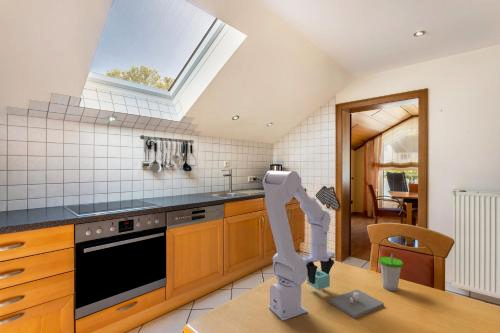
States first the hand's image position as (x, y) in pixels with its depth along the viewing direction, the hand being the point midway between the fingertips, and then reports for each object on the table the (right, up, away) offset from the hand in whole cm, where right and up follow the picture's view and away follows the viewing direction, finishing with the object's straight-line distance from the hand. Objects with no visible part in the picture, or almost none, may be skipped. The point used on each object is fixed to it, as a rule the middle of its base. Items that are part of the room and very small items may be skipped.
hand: (318, 280), depth 90 cm
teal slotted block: (0, -1, 0) cm, 1 cm away
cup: (+27, -4, +2) cm, 28 cm away
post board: (+10, -4, -8) cm, 14 cm away
